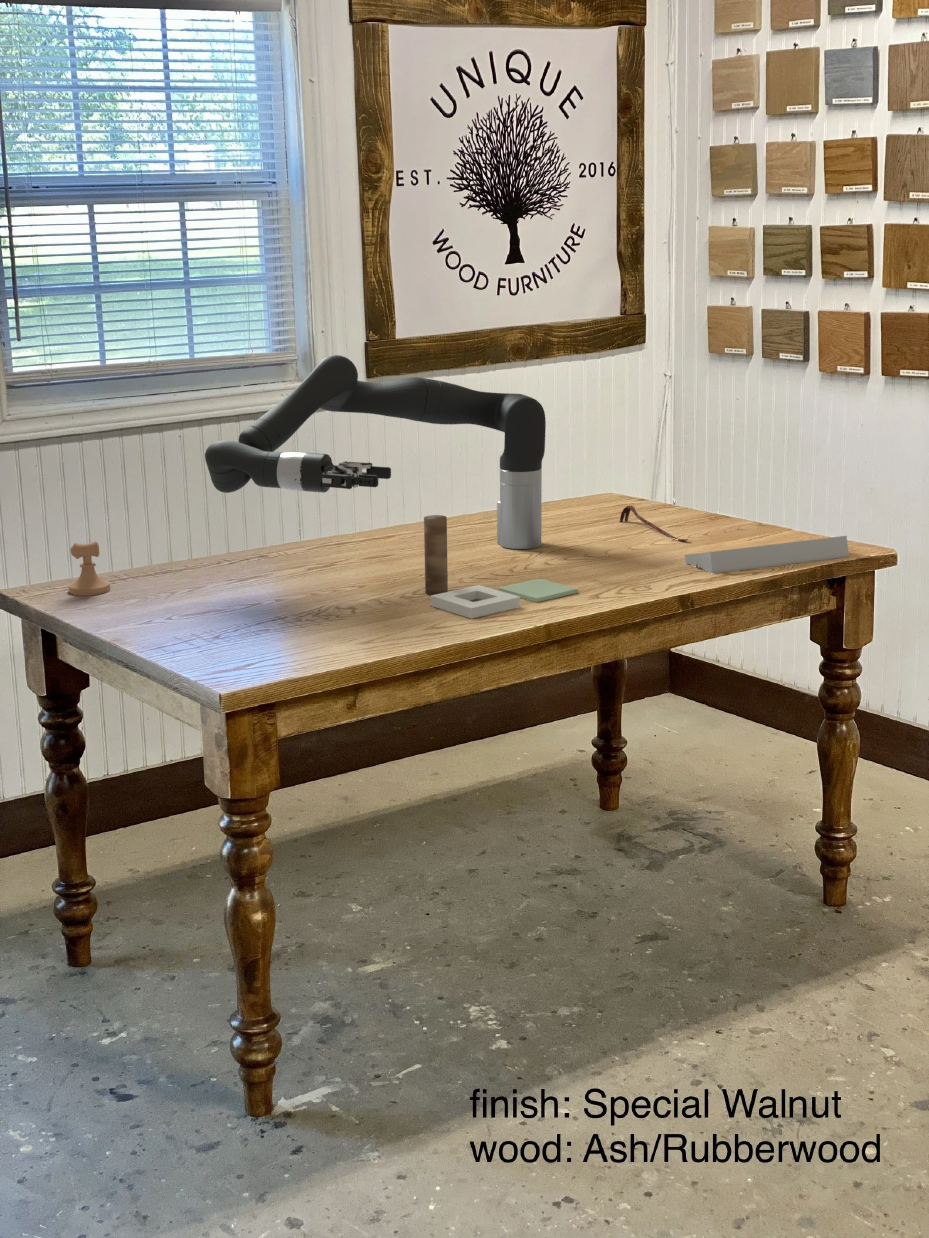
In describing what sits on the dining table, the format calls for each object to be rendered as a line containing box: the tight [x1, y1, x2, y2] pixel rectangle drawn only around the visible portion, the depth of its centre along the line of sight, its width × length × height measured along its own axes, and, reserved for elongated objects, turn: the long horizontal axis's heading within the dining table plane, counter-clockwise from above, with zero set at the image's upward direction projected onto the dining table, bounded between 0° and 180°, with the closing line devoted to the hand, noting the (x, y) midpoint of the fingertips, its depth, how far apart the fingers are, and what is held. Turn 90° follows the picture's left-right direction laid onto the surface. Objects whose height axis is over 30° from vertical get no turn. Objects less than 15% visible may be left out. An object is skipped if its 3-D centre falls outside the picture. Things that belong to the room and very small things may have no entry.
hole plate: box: [430, 584, 521, 620], centre depth 274 cm, size 12×12×2 cm
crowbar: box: [619, 505, 689, 542], centre depth 335 cm, size 26×2×5 cm, turn 27°
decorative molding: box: [684, 535, 850, 574], centre depth 307 cm, size 34×5×10 cm
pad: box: [497, 577, 579, 603], centre depth 283 cm, size 11×11×1 cm
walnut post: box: [423, 514, 449, 596], centre depth 282 cm, size 4×4×15 cm
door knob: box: [68, 540, 111, 596], centre depth 288 cm, size 8×10×8 cm
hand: (384, 477), depth 280 cm, fingers open, 8 cm apart
